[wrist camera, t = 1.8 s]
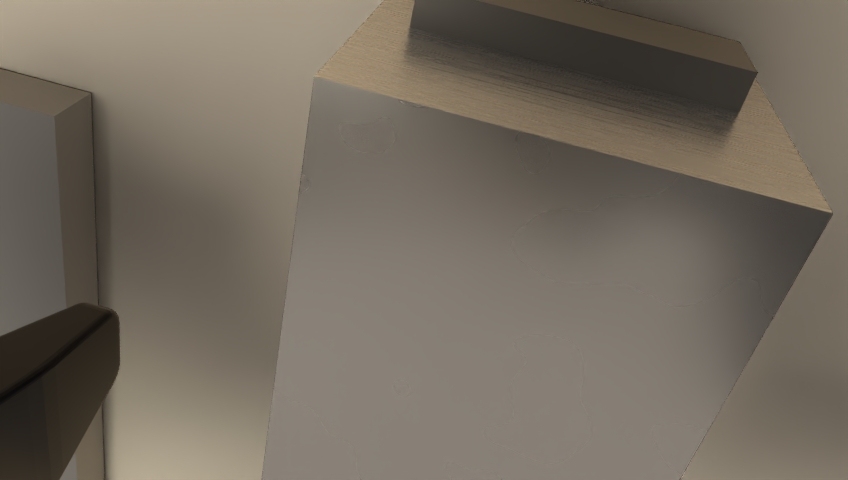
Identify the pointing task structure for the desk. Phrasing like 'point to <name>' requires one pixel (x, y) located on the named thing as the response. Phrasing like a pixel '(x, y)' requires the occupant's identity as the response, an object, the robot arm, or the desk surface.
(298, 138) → the desk surface
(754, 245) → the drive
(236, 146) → the desk surface
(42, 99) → the pin tray
